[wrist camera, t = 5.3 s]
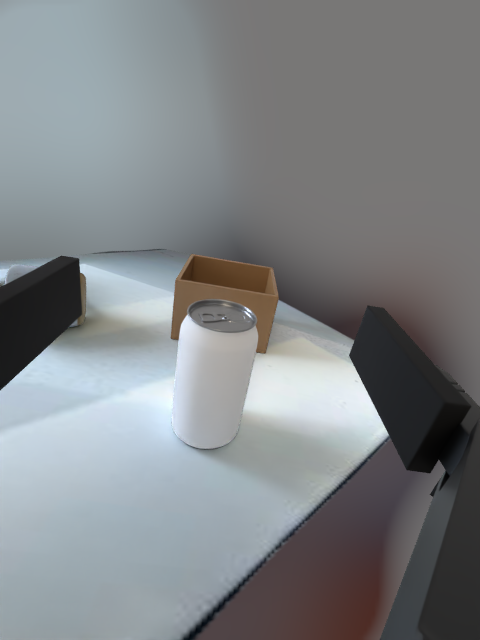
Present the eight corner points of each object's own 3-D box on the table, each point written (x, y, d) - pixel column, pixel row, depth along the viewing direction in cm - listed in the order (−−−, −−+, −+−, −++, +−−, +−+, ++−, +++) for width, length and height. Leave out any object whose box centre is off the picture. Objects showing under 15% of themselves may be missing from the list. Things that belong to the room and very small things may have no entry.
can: (247, 446, 30) (275, 333, 24) (177, 458, 27) (191, 335, 22) (226, 398, 35) (246, 297, 30) (165, 405, 33) (174, 296, 27)
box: (265, 353, 45) (278, 297, 41) (170, 338, 44) (175, 279, 40) (262, 315, 55) (272, 267, 51) (186, 303, 55) (191, 253, 51)
